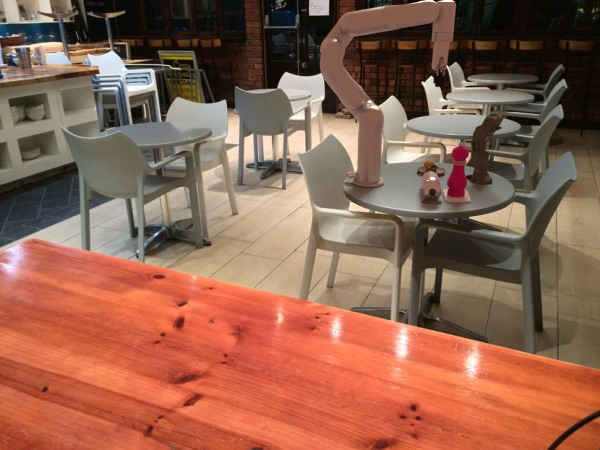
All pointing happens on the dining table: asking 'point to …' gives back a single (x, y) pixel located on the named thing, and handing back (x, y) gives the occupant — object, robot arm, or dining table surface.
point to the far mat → (456, 199)
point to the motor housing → (430, 188)
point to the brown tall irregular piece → (483, 148)
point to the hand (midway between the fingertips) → (438, 85)
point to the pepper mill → (458, 172)
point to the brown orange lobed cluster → (430, 168)
